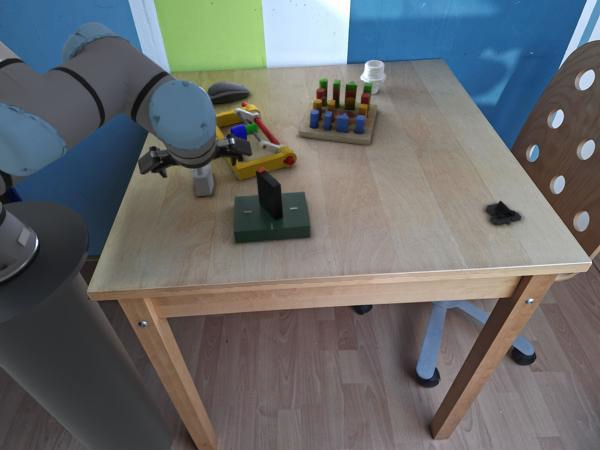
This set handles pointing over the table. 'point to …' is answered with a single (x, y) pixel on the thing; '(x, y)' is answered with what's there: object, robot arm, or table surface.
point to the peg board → (340, 115)
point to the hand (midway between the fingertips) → (198, 165)
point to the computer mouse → (226, 92)
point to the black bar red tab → (269, 193)
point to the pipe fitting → (374, 74)
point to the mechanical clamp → (251, 113)
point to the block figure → (502, 214)
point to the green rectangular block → (270, 219)
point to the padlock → (203, 180)
